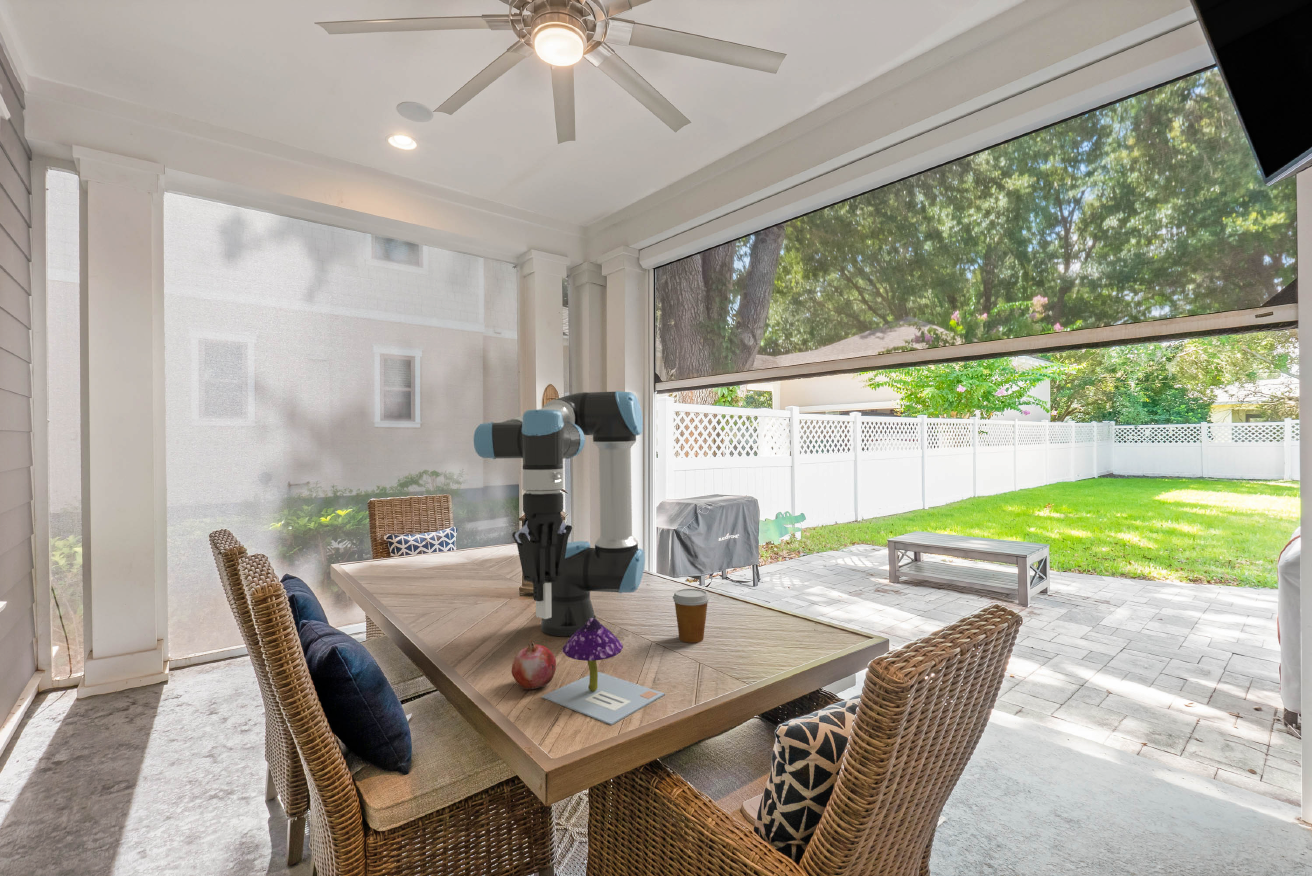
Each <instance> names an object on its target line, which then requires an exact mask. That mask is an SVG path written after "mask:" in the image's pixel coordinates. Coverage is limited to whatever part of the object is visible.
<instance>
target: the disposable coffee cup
mask: <svg viewBox="0 0 1312 876" xmlns="http://www.w3.org/2000/svg"><path fill="white" fill-rule="evenodd" d="M672 599H673V602H674V608H675V615H676V622H677V630H678V637H679V640H680V642H684V643H688V644H689V643H690V644H691V643H692V644H695V643H700V642H702V641H704V638H705V637H704V636H705V629H706V628H705V627H706V619H707V611H708V602H709V600H710V596H709V593H708V591H707V590H704V589H700V588H680V589H677V590H675V591H674V594H673V596H672Z"/></svg>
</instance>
